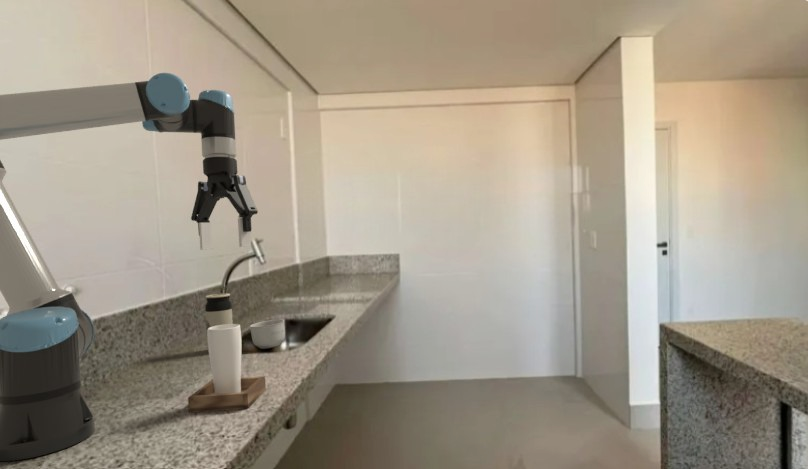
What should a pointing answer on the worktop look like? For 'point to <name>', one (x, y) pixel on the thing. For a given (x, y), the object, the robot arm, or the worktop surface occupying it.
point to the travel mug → (218, 310)
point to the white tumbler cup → (225, 357)
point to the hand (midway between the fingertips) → (225, 248)
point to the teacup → (268, 333)
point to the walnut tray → (227, 396)
